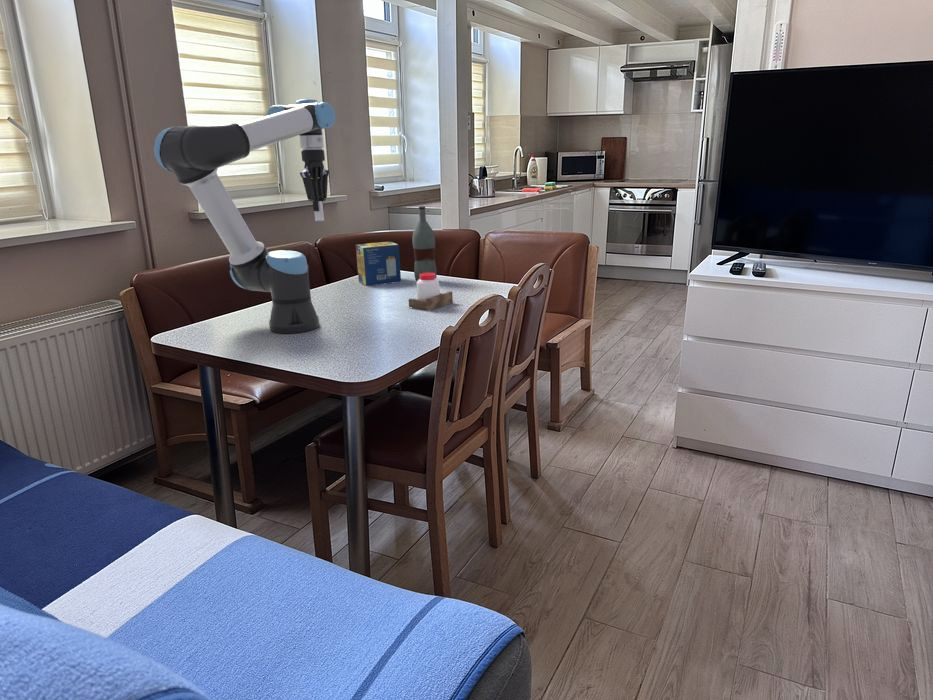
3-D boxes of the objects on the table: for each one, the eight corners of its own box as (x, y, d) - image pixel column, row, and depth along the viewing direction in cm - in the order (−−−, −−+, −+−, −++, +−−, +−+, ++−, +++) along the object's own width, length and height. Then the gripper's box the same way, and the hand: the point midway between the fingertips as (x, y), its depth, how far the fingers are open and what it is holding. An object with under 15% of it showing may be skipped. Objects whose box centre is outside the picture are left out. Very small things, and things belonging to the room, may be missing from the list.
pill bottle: (440, 307, 223) (438, 275, 220) (417, 308, 223) (415, 276, 220) (439, 302, 231) (438, 271, 228) (417, 303, 230) (416, 272, 227)
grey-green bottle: (434, 284, 262) (430, 207, 253) (412, 284, 264) (407, 208, 255) (439, 279, 271) (436, 205, 262) (418, 279, 272) (413, 205, 264)
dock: (429, 310, 219) (428, 299, 218) (408, 307, 225) (407, 296, 223) (452, 302, 229) (452, 291, 228) (432, 300, 235) (431, 289, 233)
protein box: (358, 282, 272) (355, 244, 268) (393, 277, 279) (390, 241, 274) (365, 286, 263) (362, 247, 259) (401, 281, 269) (399, 243, 265)
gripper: (308, 149, 212) (316, 223, 219) (333, 148, 223) (339, 218, 230) (290, 149, 215) (298, 222, 222) (315, 149, 227) (322, 218, 233)
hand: (319, 220), depth 226 cm, fingers closed
